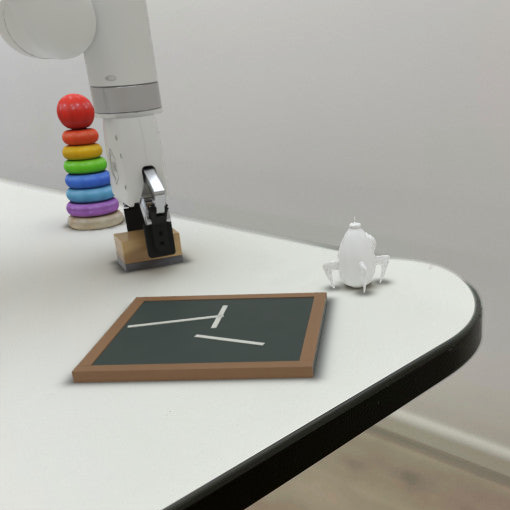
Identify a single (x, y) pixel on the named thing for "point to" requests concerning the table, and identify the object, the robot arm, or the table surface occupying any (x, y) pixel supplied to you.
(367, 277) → the rocket toy
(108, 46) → the robot arm
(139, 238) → the eraser
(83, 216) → the stacking toy
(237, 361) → the chalkboard
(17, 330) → the table surface
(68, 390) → the table surface
